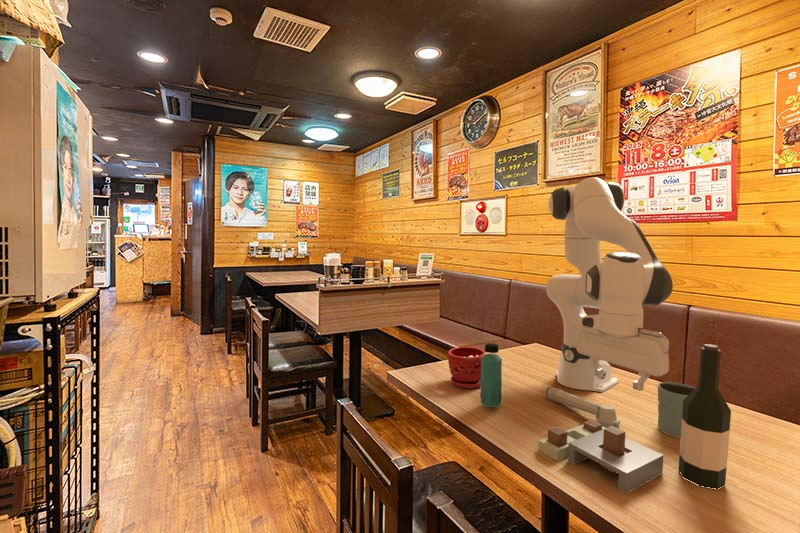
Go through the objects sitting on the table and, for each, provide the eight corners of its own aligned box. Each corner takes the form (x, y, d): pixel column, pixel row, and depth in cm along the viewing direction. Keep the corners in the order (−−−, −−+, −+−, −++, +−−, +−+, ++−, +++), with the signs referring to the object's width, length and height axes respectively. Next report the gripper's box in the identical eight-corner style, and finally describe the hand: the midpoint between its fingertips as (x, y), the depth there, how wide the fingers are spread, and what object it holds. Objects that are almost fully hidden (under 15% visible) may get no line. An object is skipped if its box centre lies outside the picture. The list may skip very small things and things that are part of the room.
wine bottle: (669, 468, 93) (678, 340, 91) (702, 466, 94) (712, 340, 92) (698, 490, 85) (709, 351, 83) (735, 489, 86) (747, 350, 83)
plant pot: (462, 374, 153) (462, 343, 152) (492, 384, 144) (493, 351, 143) (440, 383, 144) (440, 350, 143) (470, 394, 135) (471, 359, 134)
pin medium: (555, 447, 102) (556, 426, 102) (566, 453, 99) (567, 431, 99) (547, 450, 101) (547, 429, 100) (557, 456, 98) (558, 434, 97)
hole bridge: (604, 445, 103) (605, 428, 103) (662, 474, 91) (663, 455, 91) (567, 460, 96) (568, 442, 96) (625, 493, 84) (626, 473, 84)
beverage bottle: (501, 413, 121) (503, 347, 119) (479, 411, 122) (480, 346, 121) (500, 404, 127) (502, 342, 126) (479, 402, 129) (481, 340, 127)
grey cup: (647, 425, 114) (649, 384, 113) (670, 419, 118) (673, 379, 117) (684, 443, 104) (687, 398, 103) (708, 435, 108) (711, 392, 107)
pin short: (590, 433, 109) (591, 419, 109) (601, 439, 106) (602, 424, 106) (583, 436, 108) (583, 422, 107) (593, 442, 105) (594, 427, 104)
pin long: (610, 462, 95) (612, 425, 95) (623, 469, 93) (625, 431, 92) (601, 466, 94) (603, 429, 93) (615, 473, 91) (617, 435, 90)
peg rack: (591, 430, 111) (591, 421, 111) (609, 439, 106) (610, 429, 106) (538, 450, 101) (538, 440, 100) (556, 460, 96) (557, 450, 96)
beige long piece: (555, 385, 134) (623, 404, 111) (556, 405, 133) (625, 429, 110) (543, 387, 132) (609, 408, 109) (544, 408, 131) (611, 433, 108)
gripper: (677, 332, 85) (673, 395, 86) (588, 314, 102) (586, 367, 104) (661, 336, 82) (657, 402, 83) (572, 317, 99) (570, 371, 101)
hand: (617, 382), depth 93 cm, fingers open, 8 cm apart
